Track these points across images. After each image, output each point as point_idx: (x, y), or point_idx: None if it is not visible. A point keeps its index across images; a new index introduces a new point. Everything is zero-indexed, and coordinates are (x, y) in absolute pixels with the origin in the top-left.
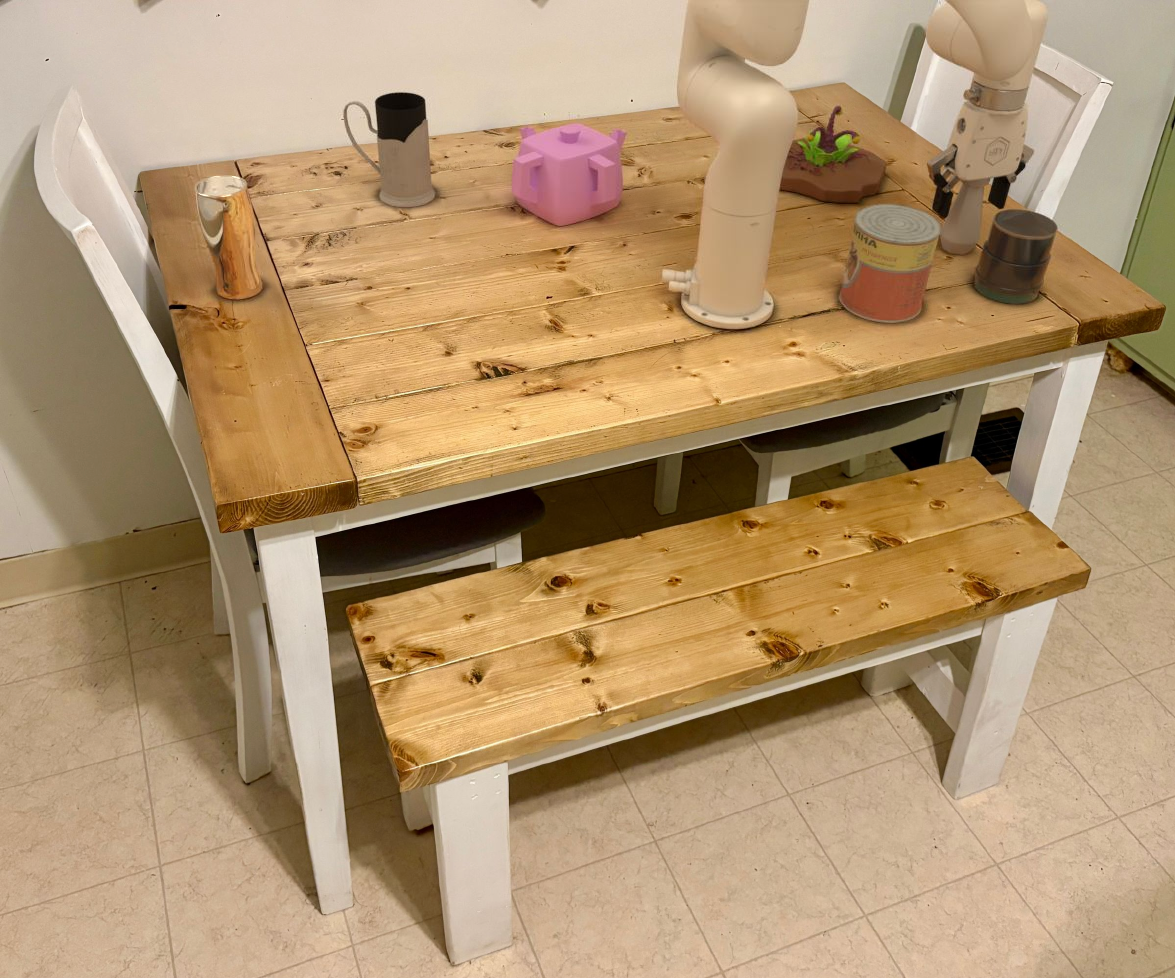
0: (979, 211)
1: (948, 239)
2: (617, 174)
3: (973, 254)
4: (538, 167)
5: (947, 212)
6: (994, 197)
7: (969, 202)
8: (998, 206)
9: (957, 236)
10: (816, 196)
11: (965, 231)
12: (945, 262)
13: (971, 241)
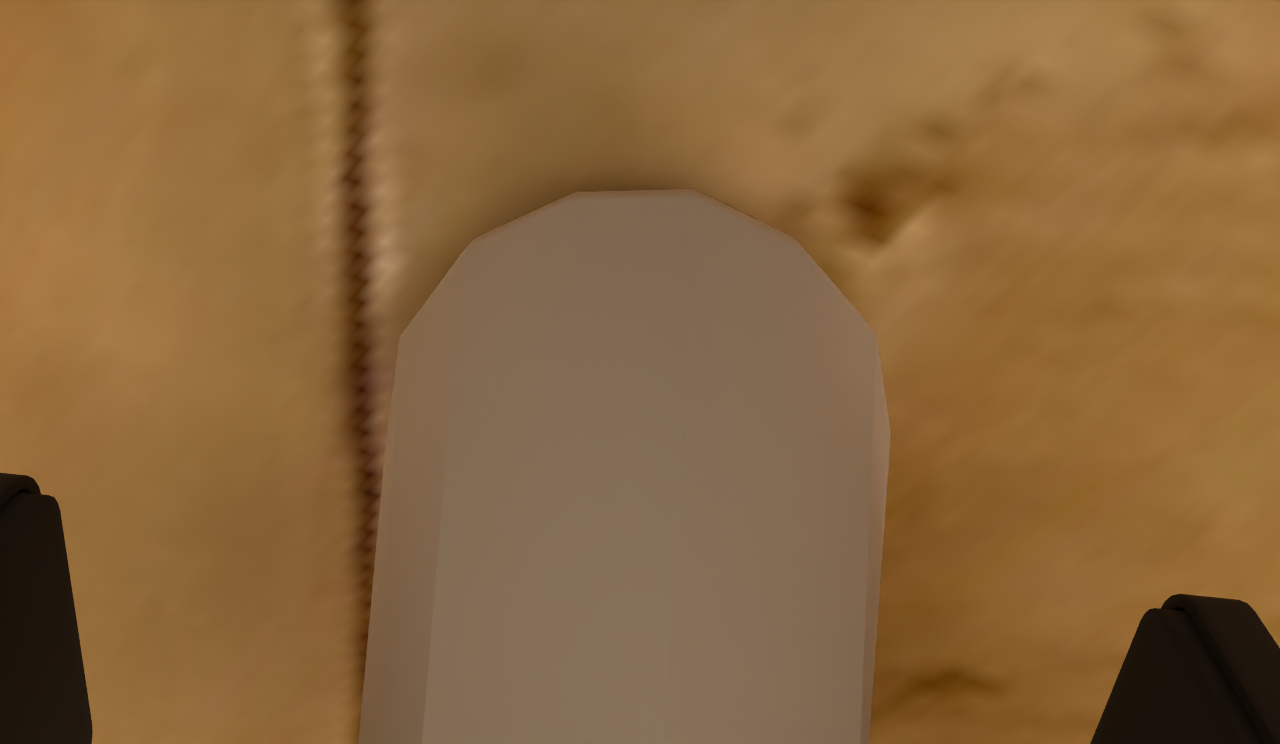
0: (540, 512)
1: (882, 381)
2: None
3: (540, 160)
4: None
5: (1240, 655)
6: (17, 735)
7: (785, 720)
8: (46, 531)
9: (844, 335)
10: None
11: (773, 330)
12: (1000, 136)
13: (663, 207)
